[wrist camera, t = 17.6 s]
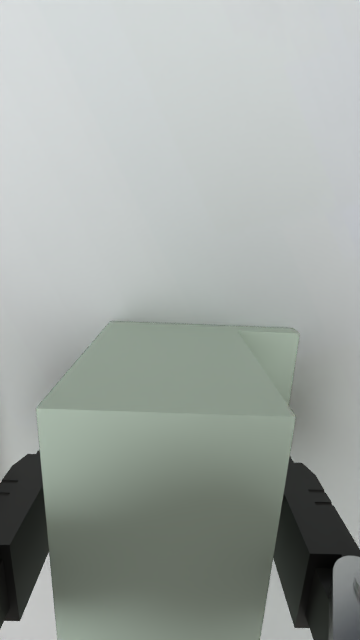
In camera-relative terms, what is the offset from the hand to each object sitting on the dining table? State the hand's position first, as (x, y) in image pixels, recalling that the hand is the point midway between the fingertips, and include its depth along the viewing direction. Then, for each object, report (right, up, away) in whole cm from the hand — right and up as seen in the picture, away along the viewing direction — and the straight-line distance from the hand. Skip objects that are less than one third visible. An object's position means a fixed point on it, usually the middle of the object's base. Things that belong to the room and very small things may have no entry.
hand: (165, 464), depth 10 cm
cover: (+1, +1, +3) cm, 3 cm away
